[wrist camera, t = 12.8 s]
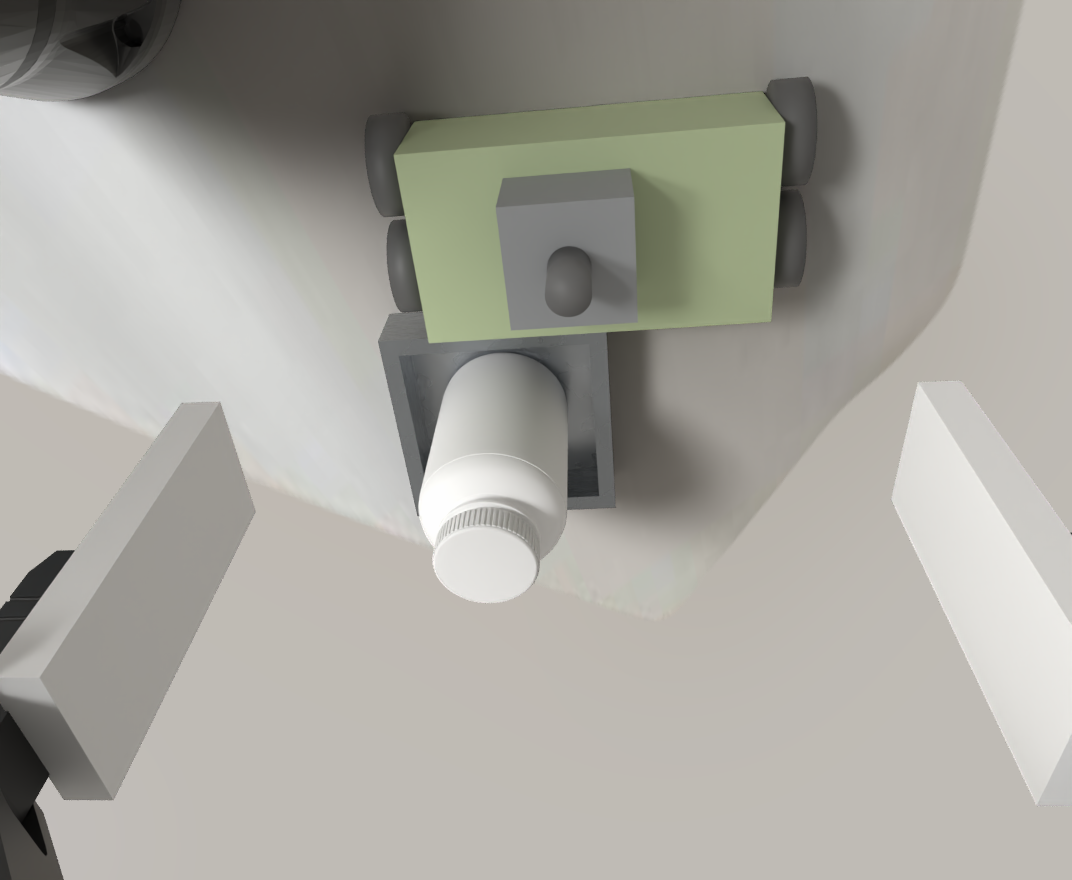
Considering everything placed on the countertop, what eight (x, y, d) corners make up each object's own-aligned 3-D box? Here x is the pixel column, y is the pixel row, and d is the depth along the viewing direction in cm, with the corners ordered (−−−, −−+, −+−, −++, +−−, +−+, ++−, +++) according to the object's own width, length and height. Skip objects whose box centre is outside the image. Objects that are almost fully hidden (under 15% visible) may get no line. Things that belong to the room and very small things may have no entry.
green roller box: (415, 297, 50) (370, 416, 40) (379, 104, 44) (313, 185, 33) (782, 272, 48) (838, 391, 38) (797, 67, 42) (870, 140, 31)
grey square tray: (425, 483, 58) (417, 516, 56) (389, 313, 51) (378, 341, 48) (614, 474, 57) (615, 507, 54) (604, 299, 50) (606, 327, 47)
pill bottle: (546, 467, 56) (535, 638, 44) (430, 433, 55) (386, 598, 43) (588, 371, 52) (588, 531, 40) (463, 331, 51) (424, 483, 39)
